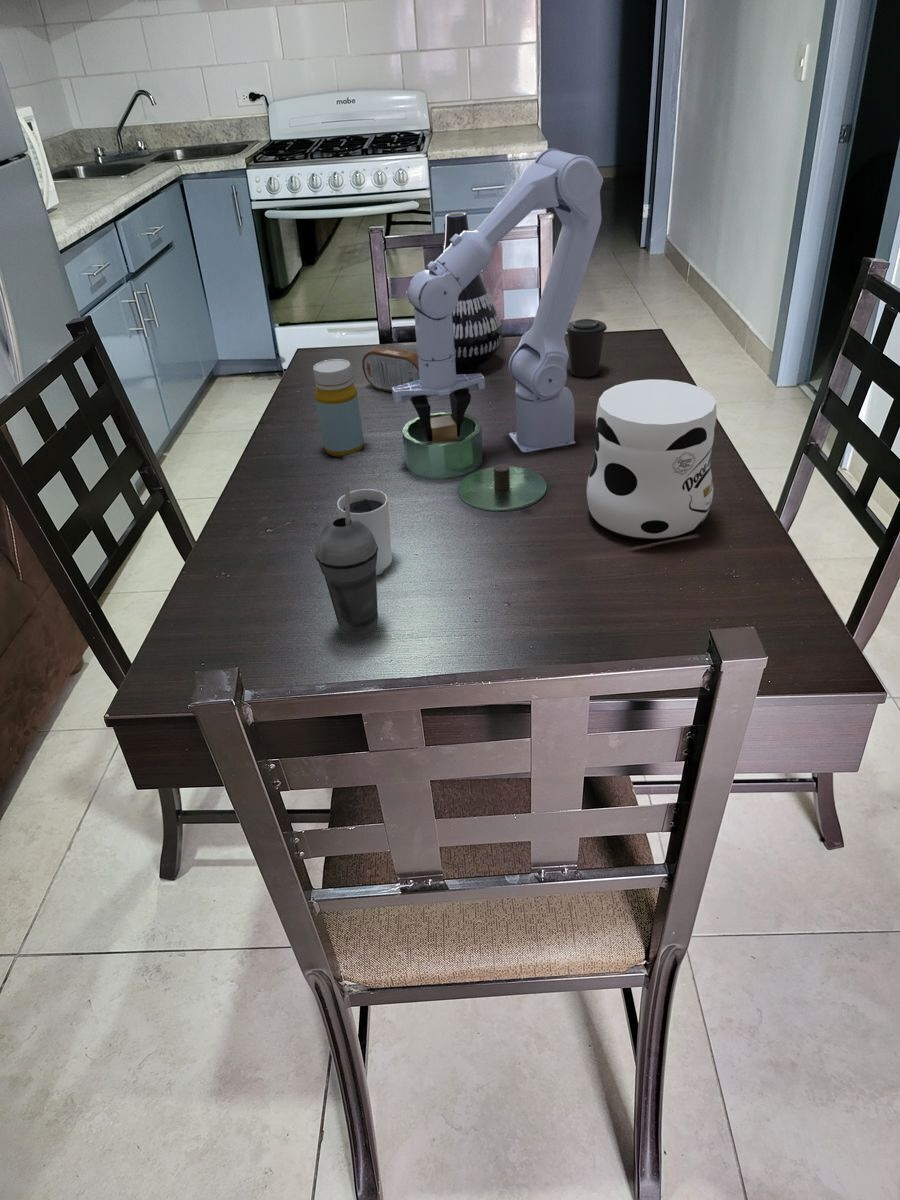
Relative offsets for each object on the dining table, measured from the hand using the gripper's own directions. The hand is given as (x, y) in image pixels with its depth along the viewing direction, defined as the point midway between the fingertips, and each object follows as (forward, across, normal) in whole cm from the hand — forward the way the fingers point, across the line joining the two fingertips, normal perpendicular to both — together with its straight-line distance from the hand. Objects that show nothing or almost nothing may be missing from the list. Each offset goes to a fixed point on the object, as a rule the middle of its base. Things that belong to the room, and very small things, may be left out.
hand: (442, 436), depth 136 cm
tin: (+5, -1, +34) cm, 34 cm away
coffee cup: (+5, +36, +28) cm, 46 cm away
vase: (+5, +15, +42) cm, 45 cm away
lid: (+4, +6, -13) cm, 15 cm away
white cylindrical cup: (+5, -17, -26) cm, 31 cm away
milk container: (+5, +23, -28) cm, 37 cm away
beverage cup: (+5, -21, -40) cm, 45 cm away
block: (+1, 0, 0) cm, 1 cm away
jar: (+5, 0, 0) cm, 5 cm away
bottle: (+5, -15, +12) cm, 20 cm away
